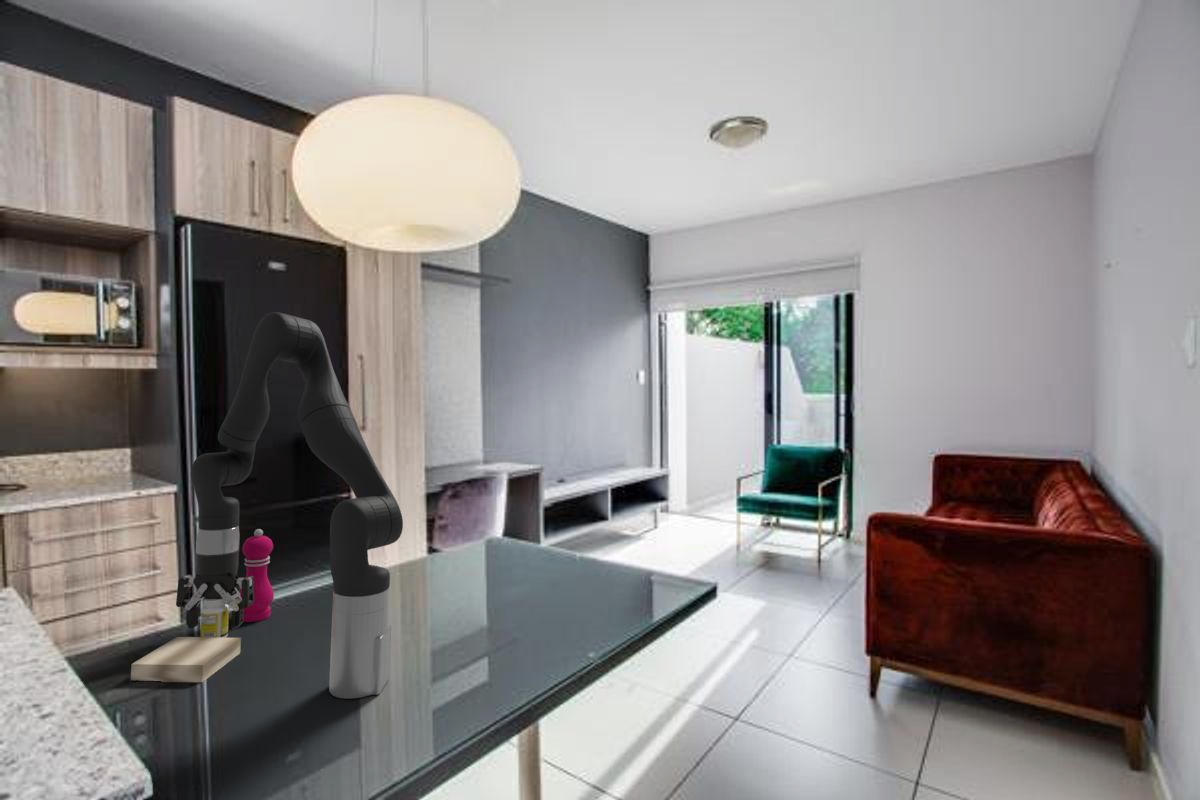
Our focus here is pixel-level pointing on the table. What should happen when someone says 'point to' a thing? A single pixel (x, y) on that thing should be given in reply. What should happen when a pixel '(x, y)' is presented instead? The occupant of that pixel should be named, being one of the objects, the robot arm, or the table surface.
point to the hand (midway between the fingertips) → (214, 627)
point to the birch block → (186, 659)
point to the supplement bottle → (214, 618)
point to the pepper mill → (258, 576)
